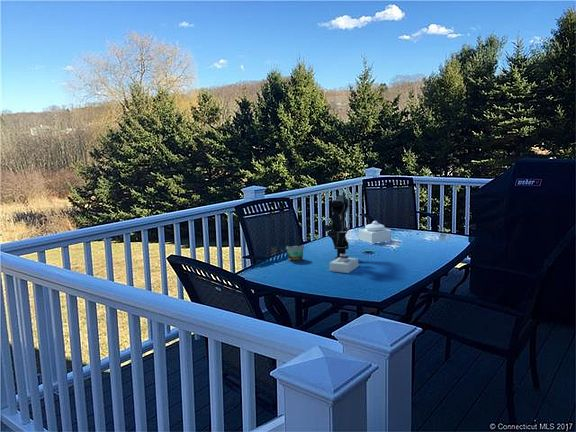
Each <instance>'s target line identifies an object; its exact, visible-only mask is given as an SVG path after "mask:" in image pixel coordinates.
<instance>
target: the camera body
mask: <svg viewBox="0 0 576 432" xmlns="http://www.w3.org/2000/svg"><path fill="white" fill-rule="evenodd" d="M328 265H329V272H336V273H341V274H342V273H344V274H349V273H351V272H353V271H354V270H356V269H357V268H358V267H359V258H356V257H348V262H340V257H339V258H335V259H333V260H331V261H330V262H329V264H328Z"/></svg>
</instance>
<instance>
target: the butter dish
mask: <svg viewBox="0 0 576 432" xmlns="http://www.w3.org/2000/svg"><path fill="white" fill-rule="evenodd" d="M392 231H393V230H391V229H389V228H386V227H385V225H384V224H381V223H379V222H378V221H377V220H373V221H372V222H371V223H370V224H366V225H365V226H364V228H359V230H358V240H359V239H360V240H363V241H366V242H369V243H377V242H385V241H391V242H392ZM363 241H362V242H363ZM366 242H365V243H366ZM369 243H368V244H369ZM385 243H386V242H385Z"/></svg>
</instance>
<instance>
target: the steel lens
mask: <svg viewBox="0 0 576 432" xmlns="http://www.w3.org/2000/svg"><path fill="white" fill-rule="evenodd" d="M348 258H349V253H347V252H346V253H341V254H340V262H348Z"/></svg>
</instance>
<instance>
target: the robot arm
mask: <svg viewBox="0 0 576 432" xmlns="http://www.w3.org/2000/svg"><path fill="white" fill-rule="evenodd" d="M336 197H337V198H336V199H334V200H331V203H330V213H332V215H331V216H330V221H331V224H329V225H328V224H325V225H324V227H323V230H324V231H325V232H327V237H329V238H330V239H331V241H332V243H333V247H334V250H336V256H335V257H334V258H335V259H337V258H339V257H340V254H341V253H347V251H346V250H349V249H350V247H349V245H350V244H349V241H348V240H347V234H348V232H349V228H348V227H347V226H346V214H347V213H348V211H349V208H350V201H349V199H348V198H347V197H346V195H343V194H342V195H337V196H336Z"/></svg>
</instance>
